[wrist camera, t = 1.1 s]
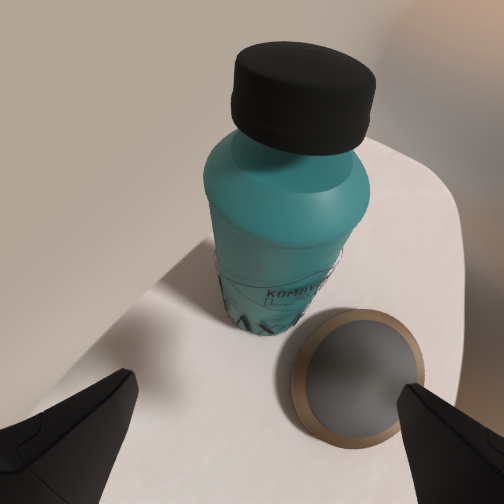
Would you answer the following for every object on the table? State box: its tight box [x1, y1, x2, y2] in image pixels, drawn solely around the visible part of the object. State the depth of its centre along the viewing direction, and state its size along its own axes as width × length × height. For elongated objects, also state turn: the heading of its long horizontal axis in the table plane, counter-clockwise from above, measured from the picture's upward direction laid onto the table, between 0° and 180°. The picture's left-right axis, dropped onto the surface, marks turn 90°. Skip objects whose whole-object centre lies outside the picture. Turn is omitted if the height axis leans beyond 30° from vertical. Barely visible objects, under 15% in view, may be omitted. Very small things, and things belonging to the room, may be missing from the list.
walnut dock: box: [290, 309, 425, 449], centre depth 19 cm, size 12×12×2 cm
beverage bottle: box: [203, 41, 376, 337], centre depth 14 cm, size 6×7×20 cm
